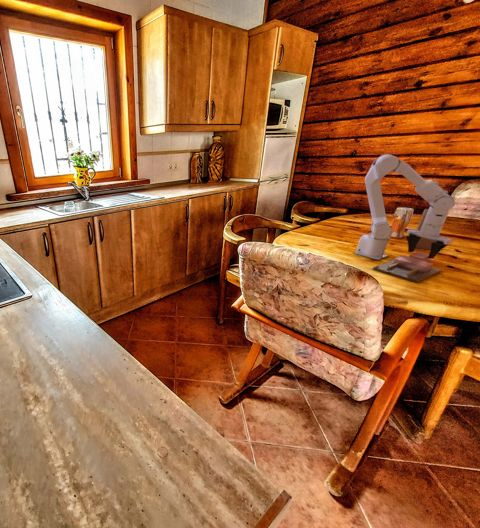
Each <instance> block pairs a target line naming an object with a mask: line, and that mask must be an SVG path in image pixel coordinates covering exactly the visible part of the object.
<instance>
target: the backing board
mask: <svg viewBox="0 0 480 528" xmlns="http://www.w3.org/2000/svg"><path fill="white" fill-rule="evenodd" d="M433 266H434V263H433V262H429V261H428V262H426V261H422V260H418V259H414V258H410V257H409V256H407V255H400V256H397V257H395V258H394V259H392V260H389V261H387V262H384V263H381V264H379V265H377V266H374V267H373V271H377V272H379V273H383V274H386V275H390V276H393V277H396V278H399V279H403V280H406V281H409V282H413V283H415V284H417V283H420V282H422V281H424V280H427V279H428V278H430V277H432V276H434V275H437V274H439V273H440V272H441V269H439V268H435V267H433Z"/></svg>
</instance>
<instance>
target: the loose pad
mask: <svg viewBox="0 0 480 528" xmlns="http://www.w3.org/2000/svg"><path fill="white" fill-rule="evenodd" d="M428 256H429V253H426V252H420V251H417V252H413V253H411V254H409V256H408V257H410V258H414V259H418V260H422V261H426V262H429V261H430V259H429V258H428Z"/></svg>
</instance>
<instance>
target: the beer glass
mask: <svg viewBox="0 0 480 528" xmlns="http://www.w3.org/2000/svg"><path fill="white" fill-rule="evenodd" d="M414 211H415V209H414V208H411V207H404V206H403V207H402V206H401V207H396V208H395V211H394V213H393V216H392V221H391V228H392V235H391V236H390V237H389V238H394V239H403V238H404V234H405V231H406V229H407V227H408V226H409V223H410V222H411V221H412V218H413V215H414Z"/></svg>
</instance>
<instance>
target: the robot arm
mask: <svg viewBox="0 0 480 528" xmlns="http://www.w3.org/2000/svg"><path fill="white" fill-rule="evenodd" d="M391 172H393V173H396V174H401V175H402V176H403V177H404V178H406V180H408V181H409V182H411V183H412V184H413V185H414V186H415V188H414V192H416V193H417V194H418V195H419V196H420V197H421V198H422V199H423V200H424V201H426V202H427V203H428V205H429V207H428V209H429V210H428V212H427V214H426V217H425V220H424V222H423V225H422V227H421V230H420V231H417V229H407V231H406V236H405V239H406V241H407V253H415V250H416V249H417V248H416V245H417V243H418V242H419V240H420V239H421V237H422V238H425V239H429V240H433V241H437V242H433V243H431V250H429V253H428V254H429V256H428V258H429V260H432V259H435V257H436V256H437V255H438V254H439V253H440V252H441V251H442V250H443V249H445V248H446V247H447V246H449V245H451V243H452V241H453V239H451V238H448V237H446V236H443V235H440V234H441V231H442V229H443V227H444V224H445V222H446V219H447V217H448V214H449V211H450V210H451V209H453V208H454V207H455V206H456V201H455V198H454V197H453V196H451V195H449V191H448V190H446V189H445V190H444V189H443V188H442V187H441V186H439V182H438V181H437V180H432V179H424V177H422V176H421V175H420V173H418V172H417V171H416V170H415V169H414V168H413V167H412V166H411V165H410V164H409V163H407V162H405V161H404V160H402V159H400V158H398V157H397V156H395V155H392V154H390V153H385V154H381V155H380V156H379V157H377V158H376V159H375V160H373V162H372V163H371V166H370V168H369V170H368V171H367V174H366V175H365V178H364V184H365V189H366V195H367V201H368V205H369V210H370V215H371V225H370V231H371V232H370V233H368V234H362V235H361V236H360V238H359V240H358V243H357V247H356V249H355V250H356V251H355V252H354V254H355V255H358V256H359V255H360V256H363V257H366V258H370V259H374V260H377V261H379V260H381V259H384V258H387V257H388V255H387V254H385V252H386V249H387V246H388V244H389V240H390V238H391V237H390V236H391V235H392V226H390V224H389V222H388V217H387V214H386V209H385V203H384V198H383V193H382V186H381V182H380V181H381V180H382V179H383V178H384V177H385V176H387V174H389V173H391Z"/></svg>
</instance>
